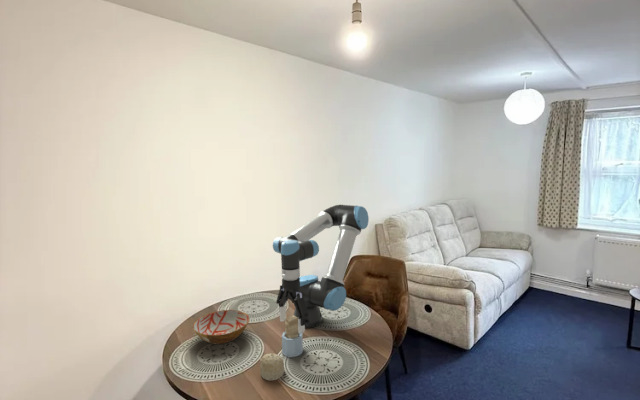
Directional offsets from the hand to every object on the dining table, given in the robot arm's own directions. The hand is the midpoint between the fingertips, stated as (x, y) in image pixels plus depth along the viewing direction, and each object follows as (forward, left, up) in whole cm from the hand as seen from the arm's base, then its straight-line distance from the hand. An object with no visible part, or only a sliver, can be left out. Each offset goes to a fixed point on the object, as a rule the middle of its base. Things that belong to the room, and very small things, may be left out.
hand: (292, 326), depth 139 cm
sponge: (+7, -14, -12) cm, 20 cm away
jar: (0, 0, -11) cm, 11 cm away
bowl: (-31, -18, -12) cm, 38 cm away
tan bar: (0, 0, -10) cm, 10 cm away
